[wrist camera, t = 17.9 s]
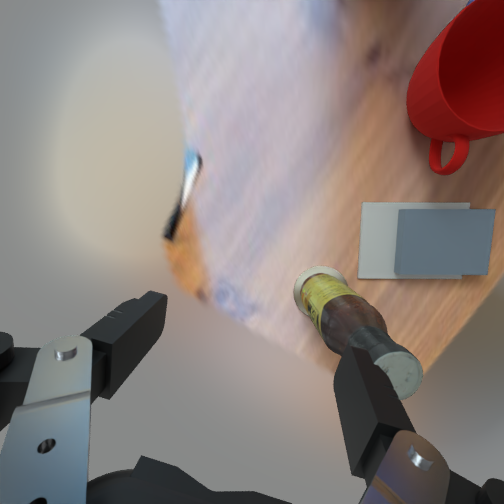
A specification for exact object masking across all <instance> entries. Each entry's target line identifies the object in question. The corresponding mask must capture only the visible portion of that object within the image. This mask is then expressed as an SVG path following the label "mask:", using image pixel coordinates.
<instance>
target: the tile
mask: <svg viewBox="0 0 504 504" xmlns="http://www.w3.org/2000/svg"><path fill="white" fill-rule="evenodd" d="M495 211H496V209H399V213H398V226H397V239H396V252H395V265H394V272H395V273H398V274H403V275H487V274H488V266H489V258H490V250H491V242H492V234H493V226H494V219H495Z"/></svg>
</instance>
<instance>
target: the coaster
mask: <svg viewBox="0 0 504 504" xmlns="http://www.w3.org/2000/svg"><path fill="white" fill-rule="evenodd" d="M317 273H324V274H329V275H331V276H334V277H335V278H337V279H338V280H340V281H341V282H343V283H344V284H345V285H346V286H348V285H347V282H346V280H345V278H344V277H343V276H342V274H340V273H339V272H338V271H337V270H335V269H333V268H331V267H327V266H315V267H312V268H309V269H307V270H306V271H304V272H303V273H302V274H301V275H300V276H299V278H298V279H297V281H296V283H295V286H294V299H295V302H296V304H297V306H298V307H299V309H300V310H301V311H302V312H303V313H304V314H306V315H307V316H309V315H308V313H307V311H306V310H305V308H304V306H303V304H302V301H301V295H300V290H301V286H302V284H303V282H304V281H305V280H306V279H307V278H308V277H309V276H311V275H313V274H317ZM309 317H310V316H309Z"/></svg>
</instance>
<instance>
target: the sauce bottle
mask: <svg viewBox="0 0 504 504" xmlns="http://www.w3.org/2000/svg"><path fill="white" fill-rule="evenodd" d="M300 295H301V301H302V304H303V306H304V308H305V310H306V311H307V313H308V315H309V316H310V318H311V320H312V322H313V324H314V325H315V327H316V329H317V330H318V332H319V333H320V335H321V337H322V339H323V340H324V342H325V344H326V345H327V346H328V348H329V349H330V350H332V351H333V352H335V353H337V354H339V355H341V356H342V355H343V352H344V350H345V348H346V346H347V345H352V346H356V347H360V348H363V349H367V350H368V352H369V354H370V356H371V358H372V361H373V363H374V364H375V365H379V366H380V368H381V369H382V370H383V371H384V372H385V373H386V374H387V375H388V376H389V379H390V381H391V383H392V385H393V387H394V390H395V391H396V393H397V395H398V397H399V400H404V399H407V398H408V397H410V396H412V395H413V394H414V393H415V392H416V391H417V389H418V388H419V386H420V384H421V382H422V378H423V370H422V366H421V364H420V362H419V361H418V359H417V358H416V357H415V356H414V355H413V354H412V353H410V352H409V351H408V350H407V349H405V348H404V347H403V346H401V345H399V344H396V343H395V342H394V341H393V340H392V339H391V338H390V336H389V335H388V333H387V327H386V324H385V321H384V319H383V317H382V315H381V314H380V313H379V312H378V311H377V310H376V309H375V308H374V307H373V306H371V305H370V304H369V303H368V302H367V301H366V300H365V299H364V298H362V297H361V296H360V295H358V294H357V293H356V292H354V291H353V290H352V289H350V288H349V287H348V286H346V285H345V284H344V283H343V282H341V281H340V280H338V279H337V278H335V277H334V276H331V275H329V274H324V273H317V274H313V275H311V276H309V277H308V278H307V279H306V280H305V281H304V282H303V284H302V286H301V290H300Z"/></svg>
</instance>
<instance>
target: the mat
mask: <svg viewBox="0 0 504 504" xmlns="http://www.w3.org/2000/svg"><path fill="white" fill-rule="evenodd" d="M399 209H470V203H435V202H362V206H361V223H360V240H359V257H358V275H357V278H368V279H462V275H403V274H398V273H395V272H394V265H395V252H396V239H397V226H398V213H399Z"/></svg>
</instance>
